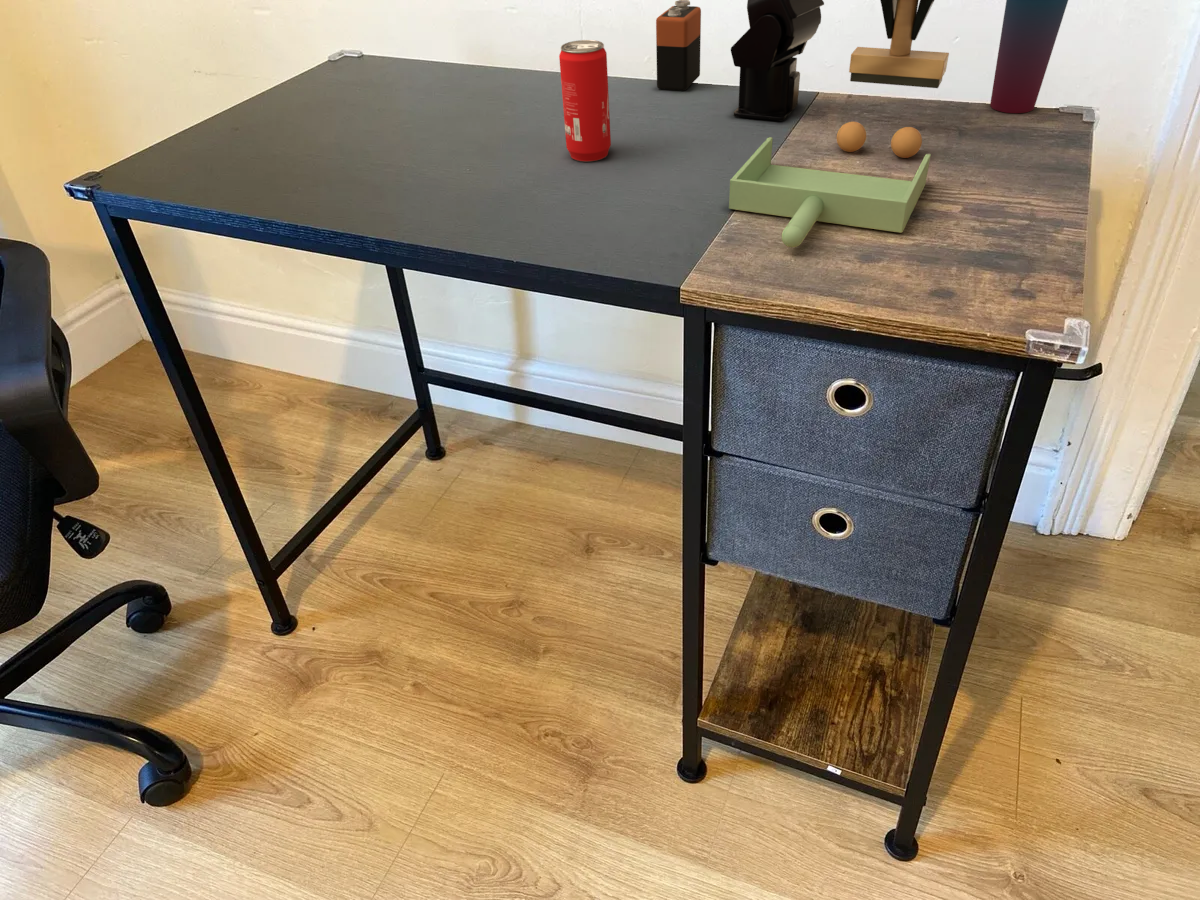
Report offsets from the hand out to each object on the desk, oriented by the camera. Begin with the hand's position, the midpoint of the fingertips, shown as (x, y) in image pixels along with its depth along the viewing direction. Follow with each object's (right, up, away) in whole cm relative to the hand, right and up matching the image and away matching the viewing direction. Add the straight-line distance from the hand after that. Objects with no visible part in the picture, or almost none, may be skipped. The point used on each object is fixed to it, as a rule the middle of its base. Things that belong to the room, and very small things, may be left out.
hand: (901, 38), depth 96 cm
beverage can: (-34, -11, +7) cm, 37 cm away
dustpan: (-11, -21, -9) cm, 26 cm away
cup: (+17, -3, +12) cm, 21 cm away
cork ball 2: (+1, -11, 0) cm, 11 cm away
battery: (-22, +6, +26) cm, 35 cm away
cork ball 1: (-5, -10, +2) cm, 11 cm away
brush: (0, -3, +3) cm, 4 cm away
